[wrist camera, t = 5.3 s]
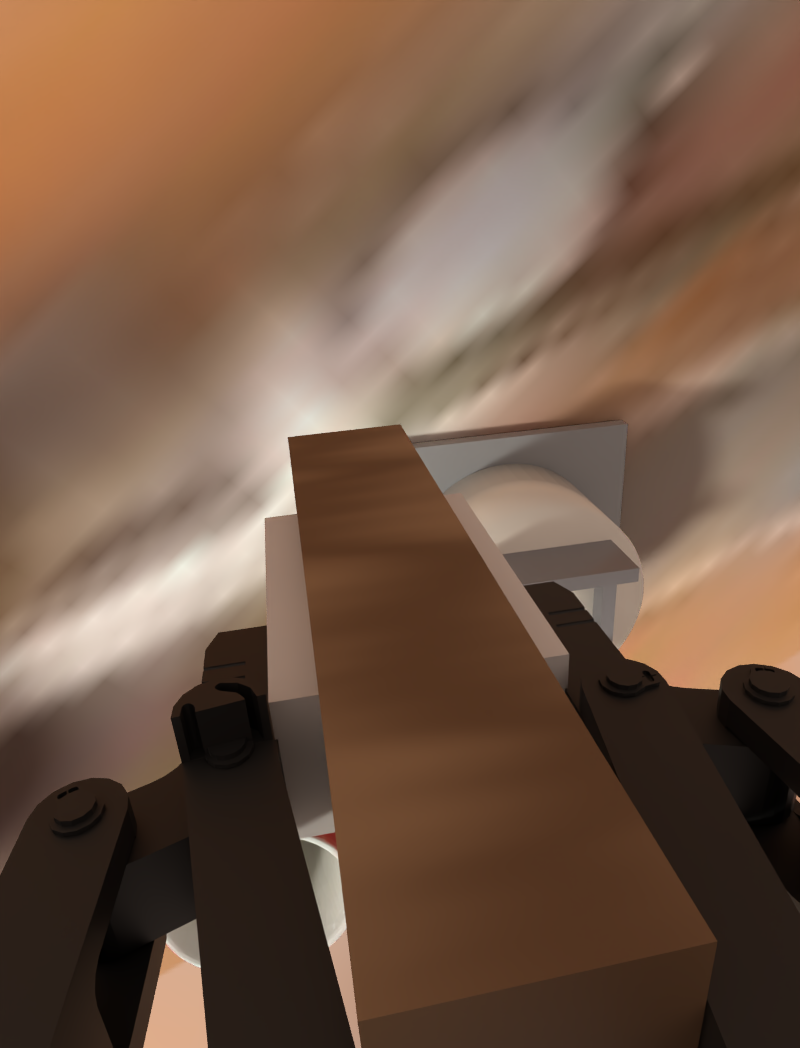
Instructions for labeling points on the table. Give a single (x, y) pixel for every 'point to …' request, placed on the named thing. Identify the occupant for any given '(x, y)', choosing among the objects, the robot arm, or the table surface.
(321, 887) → the mug
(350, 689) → the wood plank
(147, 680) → the table surface
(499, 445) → the square plate with disc
